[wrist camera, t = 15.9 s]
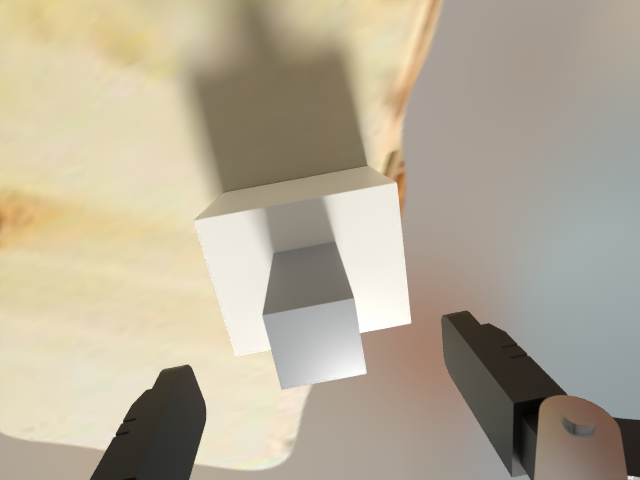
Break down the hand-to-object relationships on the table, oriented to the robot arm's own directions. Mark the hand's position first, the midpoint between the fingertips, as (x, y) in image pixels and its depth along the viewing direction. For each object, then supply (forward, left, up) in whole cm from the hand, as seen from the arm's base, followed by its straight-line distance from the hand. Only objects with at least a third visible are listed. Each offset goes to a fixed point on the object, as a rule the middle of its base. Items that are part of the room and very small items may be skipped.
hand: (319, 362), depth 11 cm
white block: (0, 0, -15) cm, 15 cm away
